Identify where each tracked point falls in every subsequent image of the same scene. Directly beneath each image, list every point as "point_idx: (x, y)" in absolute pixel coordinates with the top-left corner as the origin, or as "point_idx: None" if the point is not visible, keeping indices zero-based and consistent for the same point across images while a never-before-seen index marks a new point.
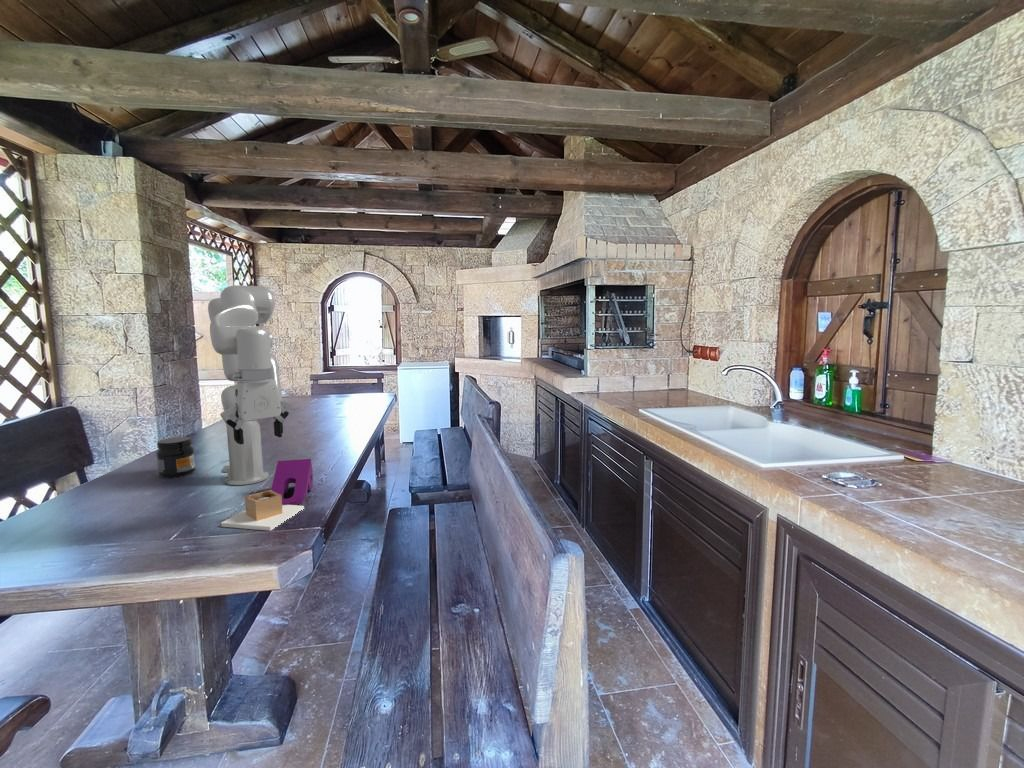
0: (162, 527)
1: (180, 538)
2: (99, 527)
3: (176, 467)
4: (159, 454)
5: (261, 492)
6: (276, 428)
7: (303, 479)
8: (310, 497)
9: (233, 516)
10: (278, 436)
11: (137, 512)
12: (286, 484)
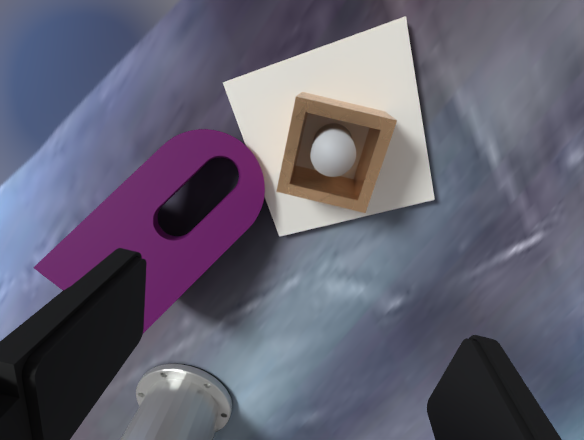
0: (482, 316)
1: (529, 220)
2: None
3: None
4: None
5: (311, 195)
6: (95, 354)
7: (134, 193)
8: None
9: (385, 209)
10: (144, 269)
11: None
12: (181, 236)
